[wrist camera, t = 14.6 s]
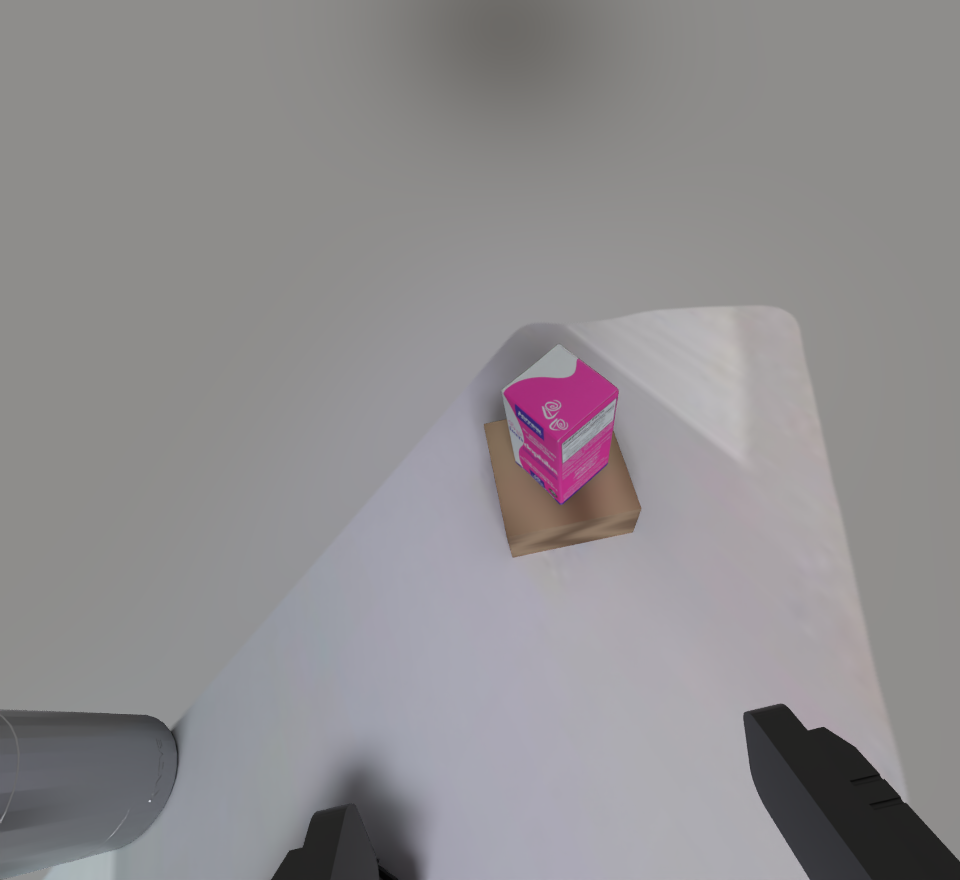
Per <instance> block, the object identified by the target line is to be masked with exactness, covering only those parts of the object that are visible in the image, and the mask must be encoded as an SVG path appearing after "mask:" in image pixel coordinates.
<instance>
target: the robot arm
mask: <svg viewBox="0 0 960 880" xmlns="http://www.w3.org/2000/svg"><path fill="white" fill-rule="evenodd" d="M743 719H744V727H745V734H746V742H747V749H748V756H749V764H750V770H751V775H752V778H753V781H754V784H755V787H756V789H757V792H758V794H759V796H760V798H761V800H762V802H763V804H764V806H765V808H766V809H767V811H768V813H769V814H770V816H771V818H772V819H773V821H774V822H775V824H776V826H777V827H778V829H779V830H780V832H781V834H782V835H783V837H784V838H785V840H786V842H787V843H788V845H789V847H790V848H791V850H792V851H793V853H794V855H795V856H796V858H797V859H798V861H799V863H800V864H801V866H802V867H803V869H804V871H805V872H806V874H807V875H808V877H809V879H810V880H960V862H959V860H958V859H957V858H956V857H955V856H954V855H953V854H952V853H951V851H950V850H949V849H948V848H947V847H946V846H945V845H944V844H943V843H942V842H941V841H940V839H939V838H938V837H937V836H936V835H935V834H934V833H933V832H932V831H931V830H930V828H928V826H927V825H926V824H925V823H924V822H923V821H922V820H921V819H920V818H919V816H918V815H917V814H916V813H915V812H914V811H913V810H912V809H911V808H910V807H909V805H908V804H907V803H904V802H903V801H902V800H901V797H900V796H899V795H898V793H897V792H896V791H895V790H894V789H893V788H892V787H891V786H890V785H889V784H888V782H887V781H886V780H885V779H882V778H881V776H880V774H879V773H878V772H877V770H876V769H875V768H874V767H873V766H872V765H871V764H870V763H869V762H868V761H867V759H866V758H865V757H864V756H863V755H862V754H861V753H860V752H859V751H858V750H857V749H856V747H854V746H853V745H851V744H850V743H848V742H847V741H845V740H843V739H842V738H840V737H839V736H837V735H836V734H834V733H833V732H831V731H829V730H828V729H826V728H825V727H821V728H817V729H812V730H807V729H806V728H805V727H804V726H803V724H802V723H801V722H800V721H799V720H798V718H797V717H796V716H795V715H794V714H793V712H792V711H791V710H790V709H789V708H788V707H787V706H786V705H784V704H777V705H772V706H768V707H764V708H760V709H755V710H751V711H747V712H745V713H744V715H743ZM176 769H177V750H176V745H175V740H174V738H173V736H172V734H171V732H170V730H169V729H168V728H167V727H166V725H165V724H164V723H163V722H161V721H160V720H158V719H157V718H154V717H151V716H148V715H131V714H129V715H128V714H109V713H84V712H54V711H27V710H0V880H3V879H7V878H11V877H15V876H18V875H22V874H26V873H30V872H33V871H37V870H41V869H44V868H48V867H52V866H56V865H59V864H63V863H67V862H71V861H75V860H79V859H82V858H86V857H90V856H93V855H97V854H101V853H104V852H108V851H112V850H115V849H119V848H121V847H123V846H125V845H127V844H129V843H131V842H132V841H134V840H135V839H136V838H138V837H139V836H140V835H142V834H143V833H144V832H145V831H146V830H147V829H148V828H149V827H150V825H151V824H152V823H153V822H154V821H155V819H156V818H157V817H158V815H159V814H160V812H161V811H162V809H163V807H164V805H165V803H166V801H167V799H168V797H169V795H170V793H171V790H172V787H173V784H174V781H175V775H176ZM271 880H379V871H378V864H377V859H376V856H375V853H374V850H373V848H372V845H371V843H370V840H369V838H368V835H367V833H366V830H365V828H364V825H363V822H362V820H361V817H360V815H359V812H358V810H357V808H356V806H355V805H354V804H352V803H351V804H347V805H343V806H338V807H334V808H330V809H326V810H321V811H317V812H316V813H314V815H313V816H312V819H311V821H310V824H309V828H308V831H307V835H306V838H305V842H304V845H303V848H299V849H295V850H290V851H289V852H288V854H287V855H286V857H285V859H284V860H283V862H282V863H281V865H280V866H279V868H278V870H277V871H276V873H275V874H274V876H273V878H272V879H271Z"/></svg>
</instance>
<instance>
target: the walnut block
mask: <svg viewBox="0 0 960 880" xmlns="http://www.w3.org/2000/svg"><path fill="white" fill-rule="evenodd" d="M484 428H485V433H486V438H487V443H488V448H489V453H490V458H491V462H492V467H493V472H494V477H495V482H496V487H497V491H498V496H499V501H500V506H501V511H502V516H503V520H504V525H505V530H506V535H507V539H508V543H509V546H510V550H511V553H512V557H518V556H523V555H527V554H532V553H537V552H542V551H546V550H551V549H556V548H561V547H565V546H570V545H575V544H580V543H584V542H589V541H594V540H599V539H603V538H608V537H613V536H618V535H622V534H627V533H632V532H633V530H634V528H635V525H636V522H637V519H638V517H639V514H640V511H641V506H640V503H639V501H638V498H637V495H636V492H635V489H634V487H633V484H632V481H631V478H630V476H629V473H628V470H627V467H626V464H625V462H624V459H623V456H622V453H621V451H620V448H619V445H618V442H617V439H616V437H615V434H614V431H613V432H612V439H611V445H610V452H609V459H608V464H607V465H606V466H605V467H604V468H603V469H602V470H601V471H600V472H599V473H598V474H596V475H595V476H594V477H593V478H592V479H591V480H590V481H589V482H587V483H586V484H585V485H584V486H583V487H582V488H581V489H579V490H578V491H577V492H576V493H575V494H574V495H573V496H571V497H570V498H569V499H568V500H567V501H566V502H565V503H564V504H562V505H560V504H559V503H558V502H557V501H556V500H555V499H554V498H553V497H552V496H551V495H550V494H549V493H548V492H547V491H546V490H545V489H544V488H543V487H542V486H541V485H540V484H539V483H538V482H537V481H536V480H535V479H534V478H533V477H532V476H531V475H530V474H528V473H527V472H526V471H525V470H524V469H523V468H521V467H520V466H519V465H518V464H517V463H516V461H515V457H514V452H513V447H512V442H511V437H510V432H509V427H508V422H507V419H505V420H501V421H496V422H491V423H487V424H484Z"/></svg>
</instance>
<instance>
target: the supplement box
mask: <svg viewBox="0 0 960 880" xmlns="http://www.w3.org/2000/svg"><path fill="white" fill-rule="evenodd" d="M501 392H502V397H503V402H504V407H505V412H506V417H507V422H508V427H509V432H510V437H511V442H512V447H513V452H514V457H515V461H516V463H517V464H518V465H519V466H520V467H521V468H523V469H524V470H525V471H526V472H527V473H528V474H530V475H531V476H532V477H533V478H534V479H535V480H536V481H537V482H538V483H539V484H540V485H541V486H542V487H543V488H544V489H545V490H546V491H547V492H548V493H549V494H550V495H551V496H552V497H553V498H554V499H555V500H556V501H557V502H558V503H559V504H560V505H562V504H564V503H565V502H566V501H567V500H568V499H569V498H570V497H571V496H573V495H574V494H575V493H576V492H577V491H578V490H579V489H581V488H582V487H583V486H584V485H585V484H586V483H587V482H589V481H590V480H591V479H592V478H593V477H594V476H595V475H596V474H598V473H599V472H600V471H601V470H602V469H603V468H604V467H605V466H606V465H607V464H608V459H609V452H610V445H611V439H612V432H613V426H614V419H615V412H616V406H617V400H618V393H619V389H618V388H617V387H615V386H614V385H613V384H612V383H610V382H609V381H608V380H607V379H605V378H604V377H603V376H601V375H600V374H599V373H597V372H596V371H595V370H594V369H592V368H591V367H590V366H588V365H587V364H585V363H584V362H583V361H582V360H580V359H579V358H578V357H576V356H575V355H573V354H572V353H571V352H569V351H568V350H567V349H565V348H564V347H563V346H562V345H560V344H557V345H556V346H555V347H554V348H553V349H552V350H550V351H549V352H548V353H547V354H546V355H544V356H543V357H542V358H541V359H540V360H538V361H537V362H536V363H535V364H534V365H532V366H531V367H530V368H529V369H527V370H526V371H525V372H523V373H522V374H521V375H520V376H518V377H517V378H516V379H515V380H513V381H512V382H511V383H510V384H508V385H507V386H506V387H505V388H503V389H502V391H501Z"/></svg>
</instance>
